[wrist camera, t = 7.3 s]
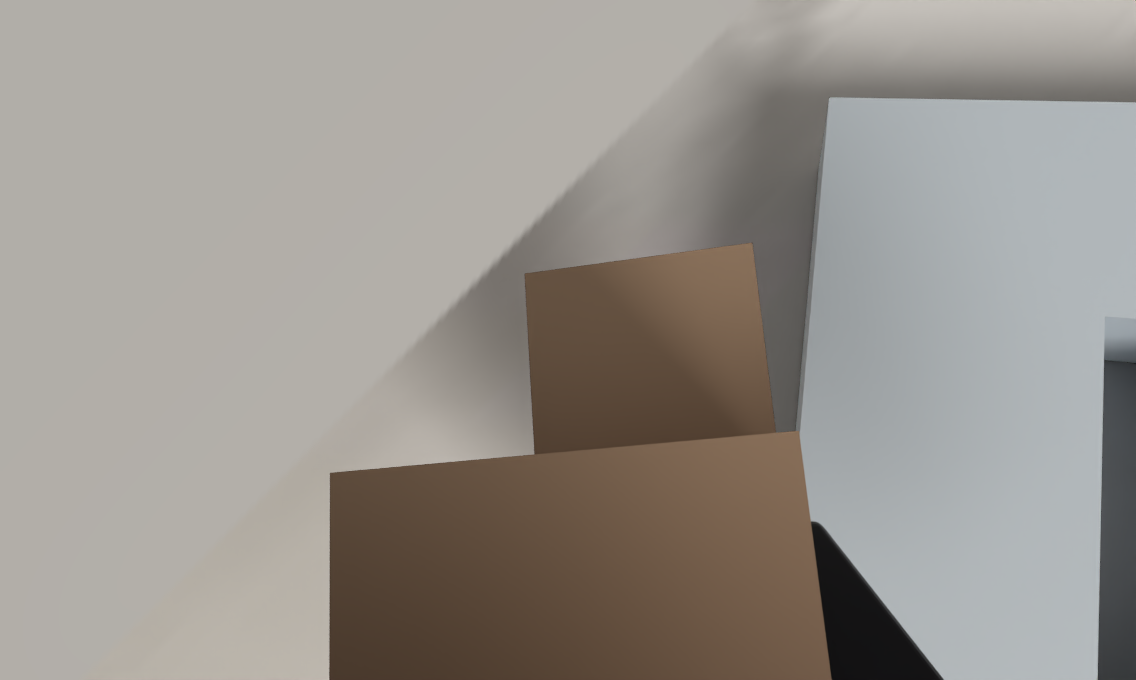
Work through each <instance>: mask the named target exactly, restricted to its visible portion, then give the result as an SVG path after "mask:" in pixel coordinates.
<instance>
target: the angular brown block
mask: <svg viewBox="0 0 1136 680" xmlns="http://www.w3.org/2000/svg"><path fill="white" fill-rule="evenodd" d="M525 289H526V307H527V325H528V343H529V361H530V379H531V398H532V416H533V434H534V452H535V455H524V456H513V457H502V458H491V459H480V460H468V461H457V462H446V463H435V464H424V465H413V466H402V467H391V468H380V469H369V470H357V471H346V472H335V473H330V668H329V680H832V679H831V672H830V664H829V656H828V649H827V641H826V633H825V626H824V618H823V611H822V603H821V595H820V588H819V580H818V572H817V565H816V557H815V550H814V542H813V534H812V527H811V519H810V511H809V504H808V496H807V488H806V481H805V473H804V466H803V458H802V450H801V443H800V435H799V431H791V432H779V433H776V430H775V422H774V413H773V405H772V397H771V389H770V381H769V373H768V365H767V357H766V349H765V341H764V333H763V325H762V317H761V309H760V301H759V293H758V285H757V277H756V269H755V261H754V253H753V245H752V243H746V244H739V245H731V246H724V247H717V248H709V249H702V250H695V251H687V252H680V253H673V254H665V255H658V256H651V257H643V258H636V259H629V260H621V261H614V262H606V263H599V264H592V265H584V266H577V267H570V268H562V269H555V270H548V271H540V272H533V273H526V274H525Z"/></svg>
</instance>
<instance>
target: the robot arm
mask: <svg viewBox="0 0 1136 680" xmlns="http://www.w3.org/2000/svg"><path fill="white" fill-rule="evenodd" d="M811 527H812V534H813V542H814V550H815V557H816V565H817V572H818V580H819V588H820V595H821V603H822V611H823V618H824V626H825V633H826V641H827V649H828V656H829V664H830V672H831V679H832V680H944V679H943V678H942V676H941V675H940V674H939V673H938V671H937V670H936V669H935V667H934V666H933V665H932V664H931V662H930V661H929V660H928V659H927V657H926V656H925V655H924V653H923V652H922V651H921V650H920V648H919V647H918V646H917V645H916V643H915V642H914V641H913V640H912V638H911V637H910V636H909V634H908V633H907V632H906V631H905V629H904V628H903V627H902V626H901V624H900V623H899V622H898V620H897V619H896V618H895V617H894V615H893V614H892V613H891V612H890V610H889V609H888V608H887V606H886V605H885V604H884V603H883V601H882V600H881V599H880V598H879V596H878V595H877V594H876V593H875V591H874V590H873V589H872V587H871V586H870V585H869V584H868V582H867V581H866V580H865V579H864V577H863V576H862V575H861V573H860V572H859V571H858V570H857V568H856V567H855V566H854V565H853V563H852V562H851V561H850V559H849V558H848V557H847V556H846V554H845V553H844V552H843V551H842V549H841V548H840V547H839V546H838V544H837V543H836V542H835V540H834V539H833V538H832V537H831V535H830V534H829V533H828V532H827V530H826V529H825V528H824V527H823V526H822V525H821V524H820V523H818V522H816V521H811Z"/></svg>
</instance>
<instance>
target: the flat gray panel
mask: <svg viewBox="0 0 1136 680" xmlns="http://www.w3.org/2000/svg"><path fill="white" fill-rule="evenodd" d="M1104 360H1109V361H1121V362H1133V363H1136V102H1083V101H1022V100H962V99H901V98H841V97H829V102H828V109H827V115H826V122H825V129H824V136H823V142H822V149H821V156H820V162H819V170H818V181H817V192H816V204H815V215H814V227H813V238H812V249H811V261H810V272H809V283H808V295H807V306H806V318H805V329H804V340H803V352H802V363H801V374H800V386H799V397H798V409H797V420H796V431H799V435H800V443H801V450H802V458H803V466H804V473H805V481H806V488H807V496H808V504H809V511H810V519H811V521H816V522H818V523H820V524H821V525H822V526H823V527H824V528H825V529H826V530H827V532H828V533H829V534H830V535H831V537H832V538H833V539H834V540H835V542H836V543H837V544H838V546H839V547H840V548H841V549H842V551H843V552H844V553H845V554H846V556H847V557H848V558H849V559H850V561H851V562H852V563H853V565H854V566H855V567H856V568H857V570H858V571H859V572H860V573H861V575H862V576H863V577H864V579H865V580H866V581H867V582H868V584H869V585H870V586H871V587H872V589H873V590H874V591H875V593H876V594H877V595H878V596H879V598H880V599H881V600H882V601H883V603H884V604H885V605H886V606H887V608H888V609H889V610H890V612H891V613H892V614H893V615H894V617H895V618H896V619H897V620H898V622H899V623H900V624H901V626H902V627H903V628H904V629H905V631H906V632H907V633H908V634H909V636H910V637H911V638H912V640H913V641H914V642H915V643H916V645H917V646H918V647H919V648H920V650H921V651H922V652H923V653H924V655H925V656H926V657H927V659H928V660H929V661H930V662H931V664H932V665H933V666H934V667H935V669H936V670H937V671H938V673H939V674H940V675H941V676H942V678H943V679H944V680H1098V632H1099V582H1100V533H1101V484H1102V434H1103V385H1104Z"/></svg>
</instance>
